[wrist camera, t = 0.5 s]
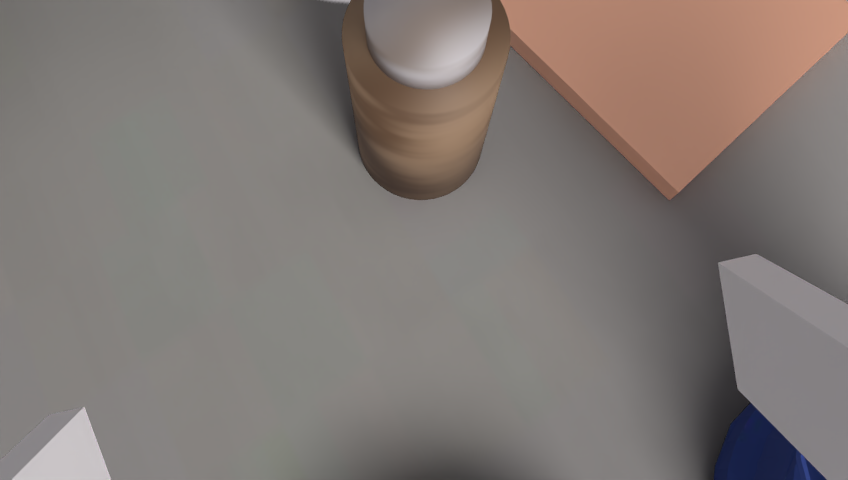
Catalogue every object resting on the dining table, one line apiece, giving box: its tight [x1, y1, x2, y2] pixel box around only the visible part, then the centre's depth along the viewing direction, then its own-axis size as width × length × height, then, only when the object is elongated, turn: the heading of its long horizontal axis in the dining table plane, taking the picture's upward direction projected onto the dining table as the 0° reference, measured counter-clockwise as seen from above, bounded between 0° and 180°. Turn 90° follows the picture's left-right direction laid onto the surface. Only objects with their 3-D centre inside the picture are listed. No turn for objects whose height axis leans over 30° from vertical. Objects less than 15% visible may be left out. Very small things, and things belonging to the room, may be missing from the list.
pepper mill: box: [342, 0, 511, 200], centre depth 36 cm, size 7×7×14 cm
